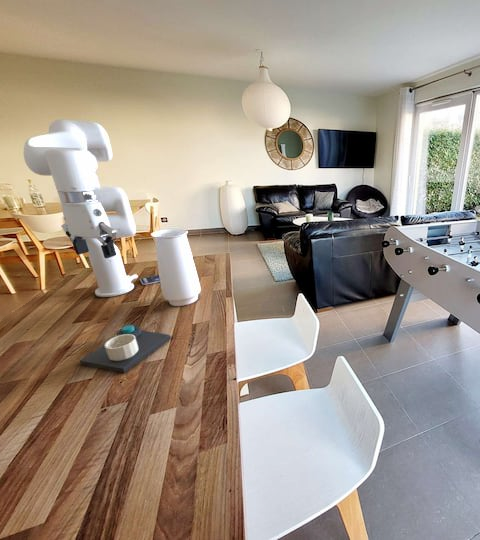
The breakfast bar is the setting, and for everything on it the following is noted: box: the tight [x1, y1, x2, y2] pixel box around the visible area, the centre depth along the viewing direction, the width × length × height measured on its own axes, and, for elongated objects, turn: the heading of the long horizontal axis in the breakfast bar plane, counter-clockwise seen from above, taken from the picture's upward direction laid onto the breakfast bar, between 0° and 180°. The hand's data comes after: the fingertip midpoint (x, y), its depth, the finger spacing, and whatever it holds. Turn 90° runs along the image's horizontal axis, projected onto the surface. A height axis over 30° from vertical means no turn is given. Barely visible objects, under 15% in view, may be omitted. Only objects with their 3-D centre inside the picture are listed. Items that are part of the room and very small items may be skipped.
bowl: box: [103, 334, 139, 361], centre depth 81 cm, size 7×7×4 cm
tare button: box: [121, 324, 135, 334], centre depth 90 cm, size 3×3×2 cm
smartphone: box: [139, 274, 160, 286], centre depth 132 cm, size 8×1×15 cm
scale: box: [79, 324, 171, 373], centre depth 85 cm, size 16×14×3 cm
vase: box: [150, 228, 201, 307], centre depth 110 cm, size 13×13×28 cm
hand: (96, 254), depth 86 cm, fingers open, 9 cm apart
